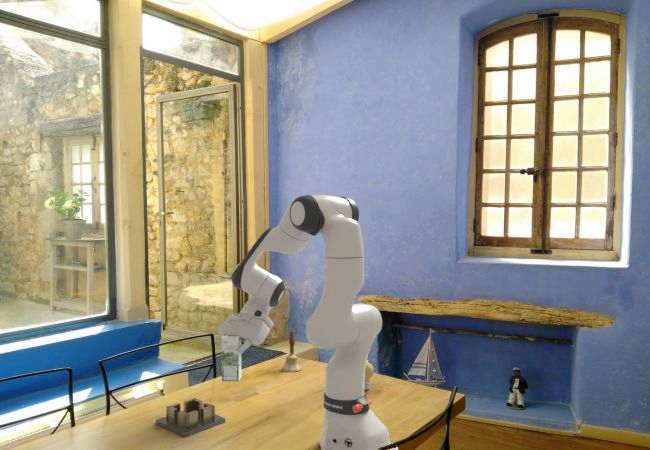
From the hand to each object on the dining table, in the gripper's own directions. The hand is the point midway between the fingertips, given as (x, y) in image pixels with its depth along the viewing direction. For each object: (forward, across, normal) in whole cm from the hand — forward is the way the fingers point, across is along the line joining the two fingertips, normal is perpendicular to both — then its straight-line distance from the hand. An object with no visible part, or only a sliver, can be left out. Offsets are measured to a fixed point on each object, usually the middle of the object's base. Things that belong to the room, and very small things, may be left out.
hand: (230, 349), depth 175 cm
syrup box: (+7, 0, +8) cm, 10 cm away
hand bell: (-19, -18, +47) cm, 54 cm away
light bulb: (-19, +20, +47) cm, 55 cm away
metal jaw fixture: (+25, 0, +3) cm, 25 cm away
